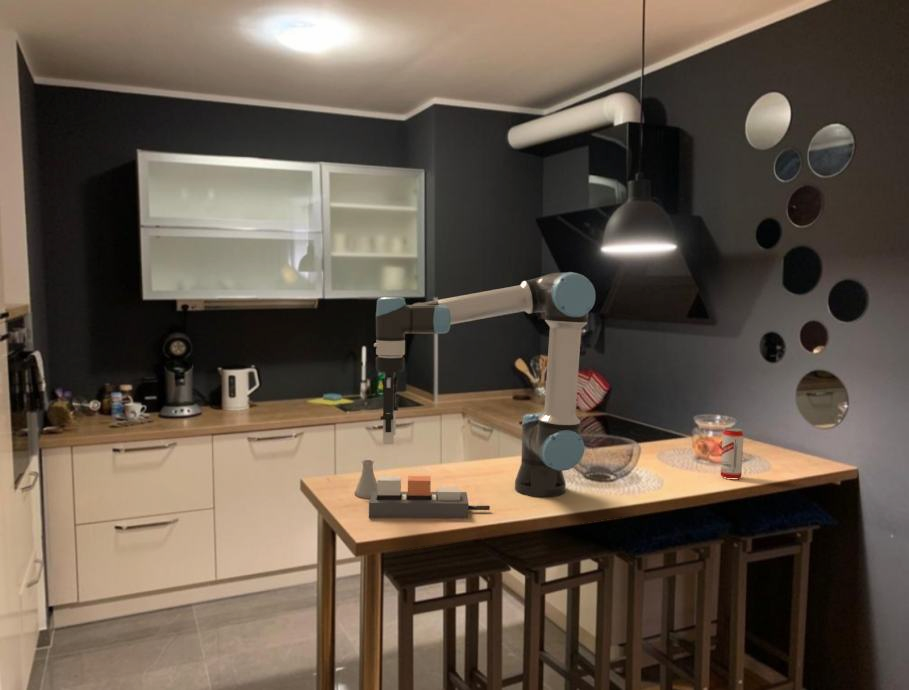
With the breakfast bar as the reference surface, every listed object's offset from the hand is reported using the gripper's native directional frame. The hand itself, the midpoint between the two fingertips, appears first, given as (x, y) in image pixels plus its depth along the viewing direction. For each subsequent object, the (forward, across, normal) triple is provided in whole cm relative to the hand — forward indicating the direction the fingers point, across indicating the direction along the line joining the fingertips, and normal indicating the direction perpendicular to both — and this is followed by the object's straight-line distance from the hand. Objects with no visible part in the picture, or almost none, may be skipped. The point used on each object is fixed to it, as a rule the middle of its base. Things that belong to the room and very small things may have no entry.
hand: (389, 439), depth 190 cm
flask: (+20, -15, -7) cm, 26 cm away
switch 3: (+18, 0, +16) cm, 24 cm away
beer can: (+20, -35, +108) cm, 115 cm away
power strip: (+20, 0, +11) cm, 23 cm away
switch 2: (+15, 0, +8) cm, 17 cm away
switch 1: (+15, 0, 0) cm, 15 cm away
